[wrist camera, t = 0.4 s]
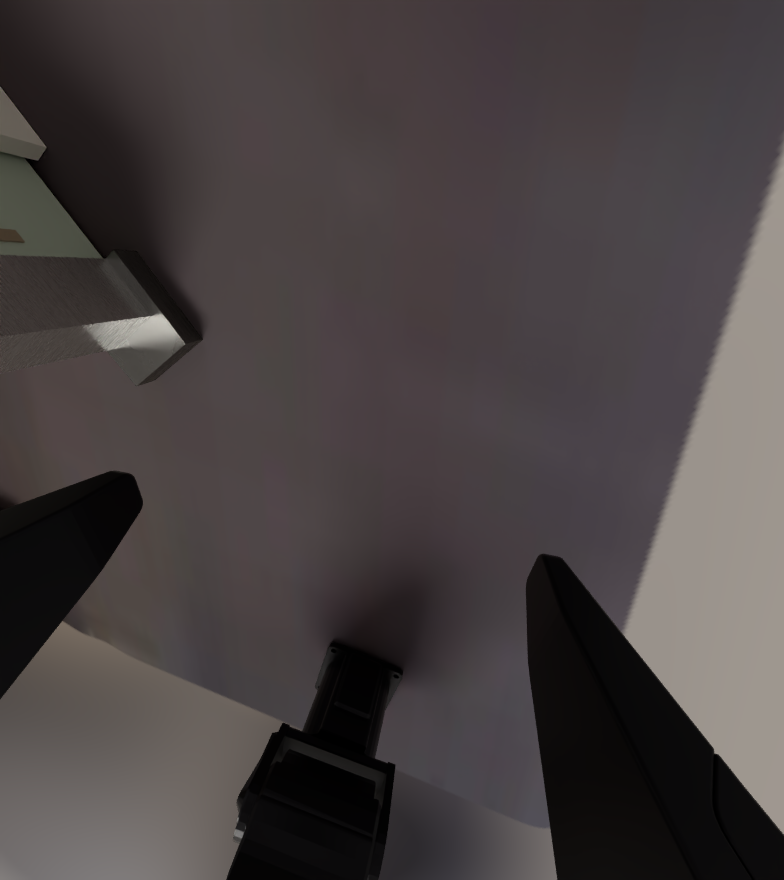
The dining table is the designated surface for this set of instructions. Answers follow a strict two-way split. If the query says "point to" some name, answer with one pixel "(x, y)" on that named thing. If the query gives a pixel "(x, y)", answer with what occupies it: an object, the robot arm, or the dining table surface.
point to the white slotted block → (17, 132)
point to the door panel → (35, 216)
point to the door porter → (89, 314)
